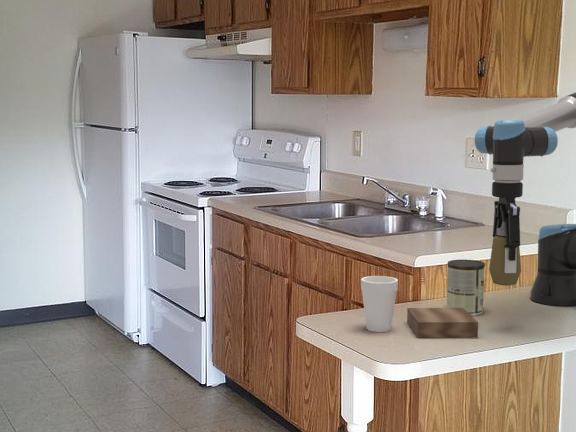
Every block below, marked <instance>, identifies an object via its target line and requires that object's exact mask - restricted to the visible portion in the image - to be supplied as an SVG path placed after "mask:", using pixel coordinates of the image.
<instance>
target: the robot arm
mask: <svg viewBox="0 0 576 432" xmlns="http://www.w3.org/2000/svg"><path fill="white" fill-rule="evenodd" d="M566 128H567V129H575V128H576V92H573V93H571V94H568V95H566V96H563V97H561V98H559V99H558V101H557V103H554V104H550V105H549V106H546V107H543V108H540V109H539V110H538V109H537V110H535V111H533V112H531V113H528V114H525V115H522V116H519V117H517V118H515V119H508V120H507V119H499V120H496V121H495V122H494V124H493V126H491V125H488V126H482V127H480V128H478V129H477V131H476V132H475V134H474V138H473V139H474V146H475V148H476V150H477V151H478V152H479V153H481V154H488V155H490V156H491V155H492V168H491V169H490V172H491V173H492V180H493V182H492V183H491V196H492V197H494V198H498V200H495V201H494V202H493V205H494V214H493V225H492V226H493V227H492V238H494V237H495V236H498V235H497V228H501V225H502V221H503V222H504V223H505V233H506V243H507V245H504V248H505V273H516V259H517V247H518V246H519V247H521V224H520V222H521V221H520V214H521V207H520V205H519V206H517V203H516V199H517V198H521V197H523V193H524V192H523V190H524V189H523V188H524V186H523V185H524V184H523V182H522V180H524V169H525V167H524V160H525V159H524V158H526V157H544V156H549V155H551V154H552V153H554V152H555V150H556V149H557V147H558V144H559V143H558V142H559V141H558V135H557V132H558V131H560V130H564V129H566ZM513 241H514V242H513ZM537 243H538V244H537V246H538V247H537V272H536V276H535V280H534V282H533V285H532V286H531V289H530V293H529V296H530V297H529V298H530V300H531V301H533V302H535V303H539V304H542V305H547V304H548V305H549V306H556V305H557V306H560V307H571V306H570V305H574V306H576V223H562V224H561V223H560V224H547V225H543V226H541V227H540V229H539V233H538V239H537Z"/></svg>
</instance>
